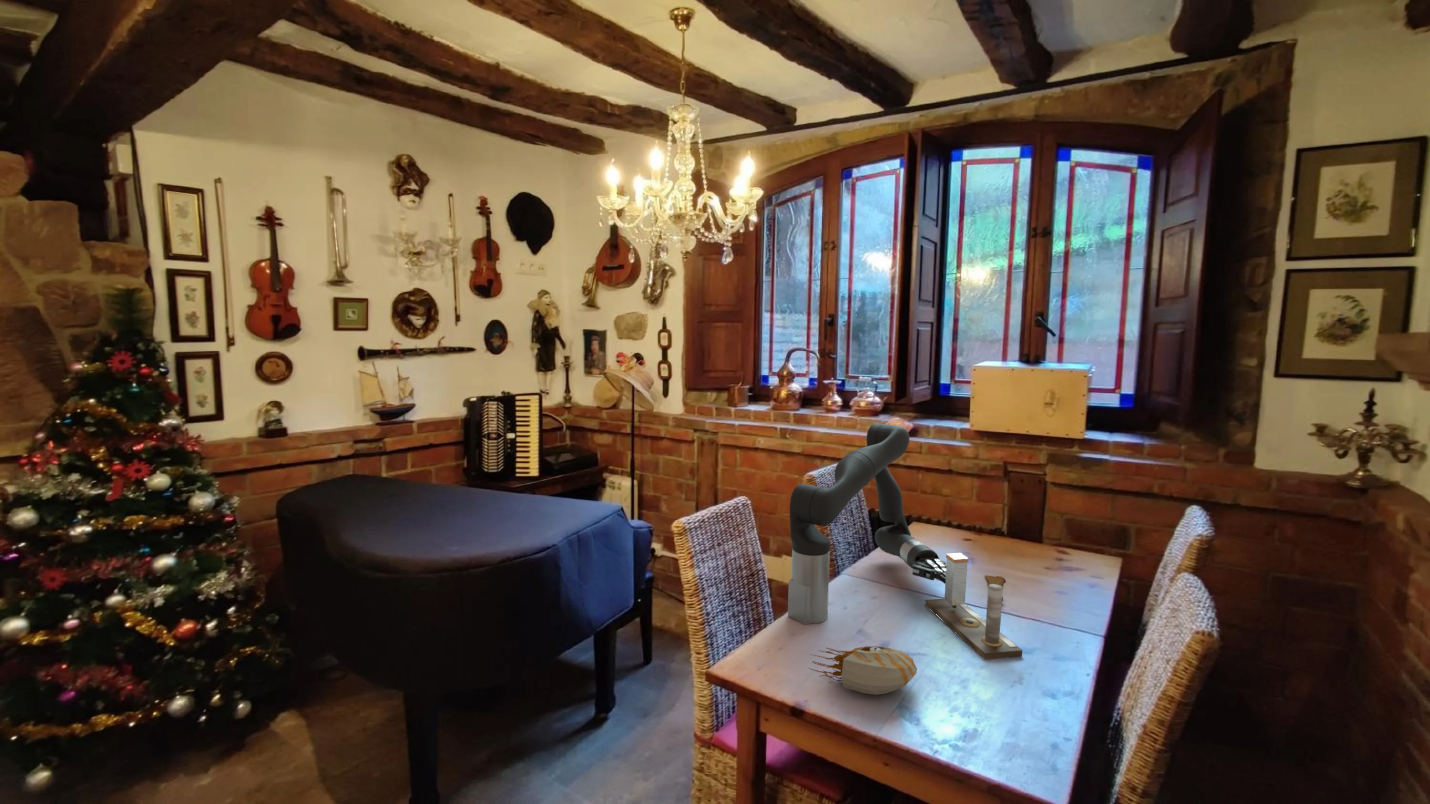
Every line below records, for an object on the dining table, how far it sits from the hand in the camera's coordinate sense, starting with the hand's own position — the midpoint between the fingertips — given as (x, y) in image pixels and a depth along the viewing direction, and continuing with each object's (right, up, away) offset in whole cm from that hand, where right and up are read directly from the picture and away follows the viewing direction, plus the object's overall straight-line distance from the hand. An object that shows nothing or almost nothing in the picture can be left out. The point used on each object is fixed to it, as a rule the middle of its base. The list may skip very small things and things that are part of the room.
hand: (951, 582), depth 162 cm
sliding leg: (0, -6, -1) cm, 6 cm away
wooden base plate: (+1, -9, -8) cm, 12 cm away
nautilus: (-30, -12, -30) cm, 44 cm away
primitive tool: (+17, -7, +15) cm, 24 cm away
